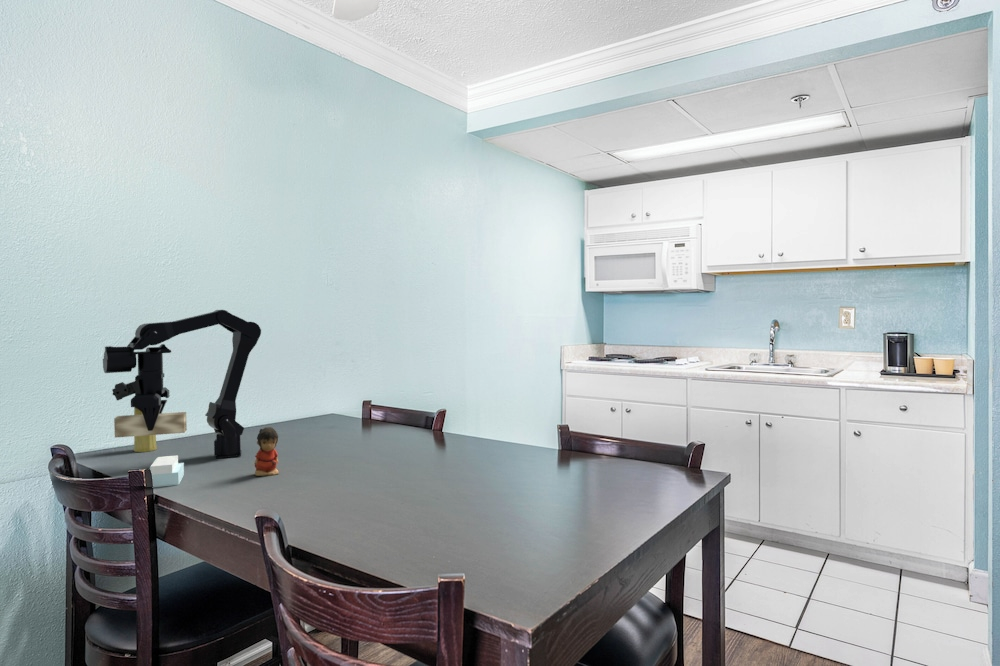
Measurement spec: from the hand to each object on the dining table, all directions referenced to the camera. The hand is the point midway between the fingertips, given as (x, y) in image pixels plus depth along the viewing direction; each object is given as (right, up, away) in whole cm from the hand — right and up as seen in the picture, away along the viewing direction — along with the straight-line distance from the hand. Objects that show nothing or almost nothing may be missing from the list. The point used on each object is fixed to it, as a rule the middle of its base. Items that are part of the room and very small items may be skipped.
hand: (151, 429), depth 157 cm
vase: (-15, -10, +21) cm, 28 cm away
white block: (+11, -11, -13) cm, 20 cm away
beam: (0, -1, 0) cm, 1 cm away
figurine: (+33, -11, -7) cm, 36 cm away
